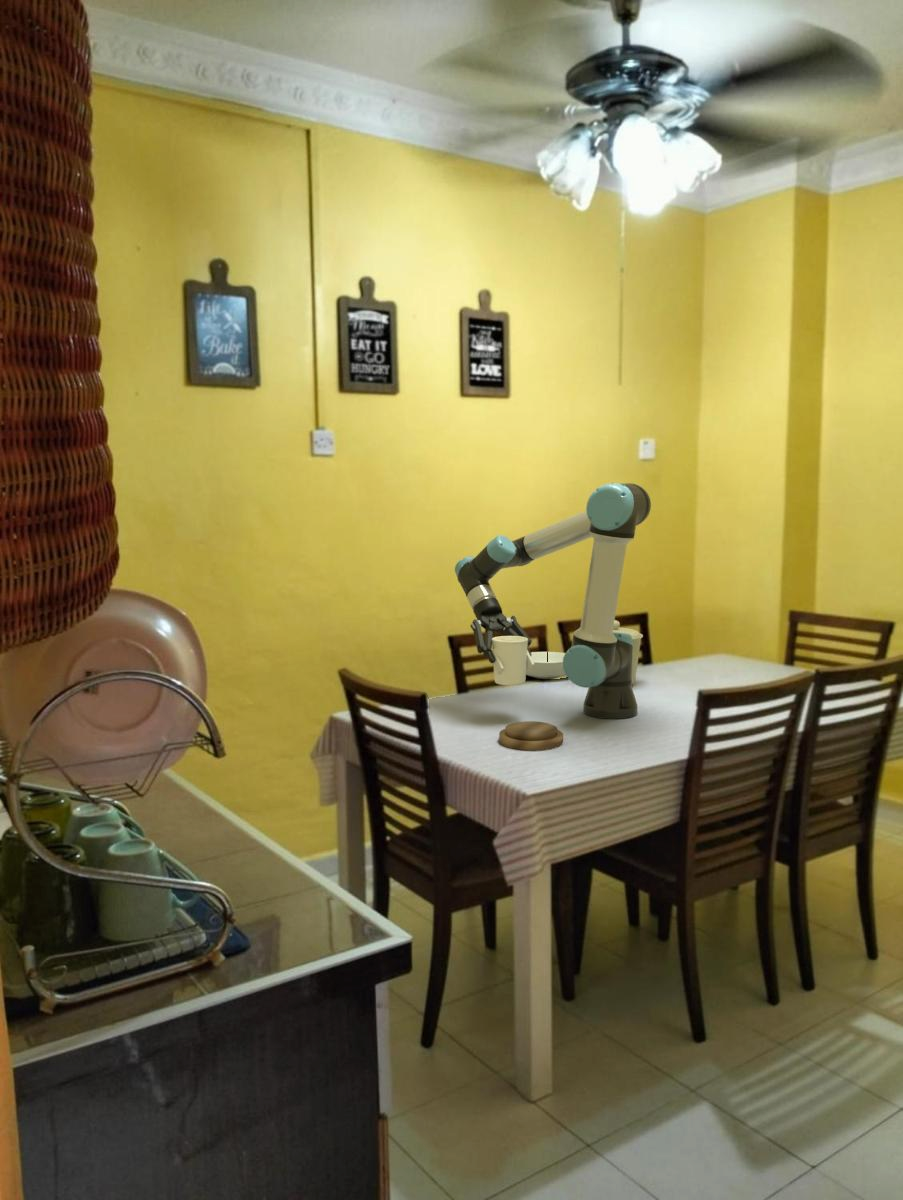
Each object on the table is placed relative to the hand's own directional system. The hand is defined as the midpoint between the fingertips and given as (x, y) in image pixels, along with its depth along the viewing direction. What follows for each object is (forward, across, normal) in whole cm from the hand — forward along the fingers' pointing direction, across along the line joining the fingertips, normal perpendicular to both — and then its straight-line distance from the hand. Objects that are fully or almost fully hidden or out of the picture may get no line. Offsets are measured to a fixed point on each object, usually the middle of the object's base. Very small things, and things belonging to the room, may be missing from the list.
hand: (516, 669), depth 248 cm
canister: (-6, -53, -28) cm, 60 cm away
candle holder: (+1, 0, -5) cm, 5 cm away
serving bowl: (-22, -42, -43) cm, 64 cm away
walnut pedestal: (+22, +7, +1) cm, 23 cm away
